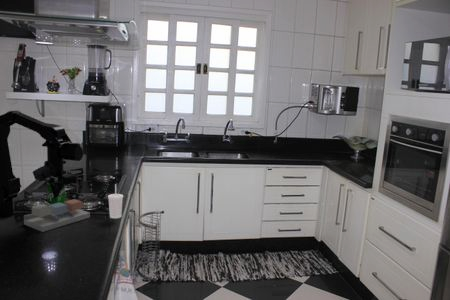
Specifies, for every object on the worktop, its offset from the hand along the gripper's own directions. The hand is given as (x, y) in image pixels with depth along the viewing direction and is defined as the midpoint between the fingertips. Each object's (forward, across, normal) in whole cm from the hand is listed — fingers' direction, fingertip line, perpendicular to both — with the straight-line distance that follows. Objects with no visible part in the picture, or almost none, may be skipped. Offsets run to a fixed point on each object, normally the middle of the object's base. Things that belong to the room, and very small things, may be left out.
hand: (56, 197), depth 157 cm
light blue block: (+6, 0, +1) cm, 6 cm away
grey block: (+5, 0, -6) cm, 8 cm away
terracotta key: (+6, 0, +8) cm, 10 cm away
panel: (+10, 0, +1) cm, 10 cm away
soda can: (+10, -16, +12) cm, 23 cm away
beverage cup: (+10, +14, +18) cm, 25 cm away
